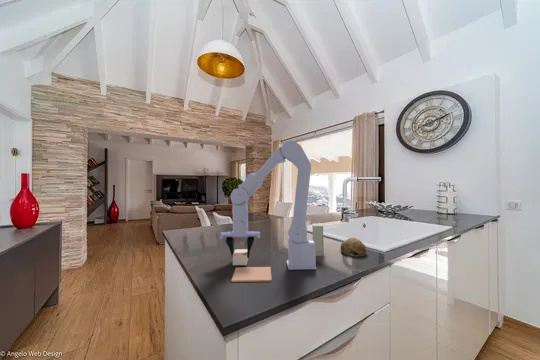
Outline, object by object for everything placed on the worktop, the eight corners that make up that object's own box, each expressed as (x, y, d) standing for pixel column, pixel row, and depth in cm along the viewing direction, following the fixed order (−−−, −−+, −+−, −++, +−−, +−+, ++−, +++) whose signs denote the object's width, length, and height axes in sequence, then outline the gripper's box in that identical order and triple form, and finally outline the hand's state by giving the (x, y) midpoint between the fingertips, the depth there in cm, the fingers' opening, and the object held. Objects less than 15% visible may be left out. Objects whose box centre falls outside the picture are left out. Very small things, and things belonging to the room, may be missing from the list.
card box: (248, 258, 85) (248, 249, 85) (246, 265, 78) (246, 255, 78) (235, 258, 85) (235, 249, 85) (232, 265, 78) (232, 255, 78)
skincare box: (324, 257, 87) (323, 226, 87) (312, 256, 88) (312, 225, 88) (323, 252, 93) (323, 223, 93) (312, 251, 94) (312, 223, 94)
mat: (270, 268, 76) (270, 266, 76) (271, 281, 66) (271, 279, 66) (235, 268, 76) (235, 267, 76) (231, 282, 66) (231, 280, 66)
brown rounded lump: (341, 263, 90) (343, 248, 86) (338, 246, 99) (339, 231, 96) (367, 264, 88) (369, 249, 85) (361, 247, 97) (363, 232, 94)
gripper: (260, 218, 86) (260, 253, 86) (222, 219, 86) (223, 254, 85) (259, 221, 79) (260, 259, 79) (219, 222, 79) (219, 260, 78)
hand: (240, 257), depth 82 cm, fingers closed on card box, 5 cm apart
